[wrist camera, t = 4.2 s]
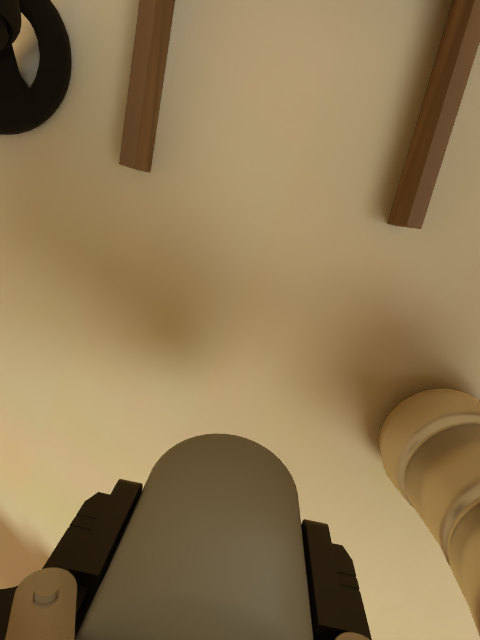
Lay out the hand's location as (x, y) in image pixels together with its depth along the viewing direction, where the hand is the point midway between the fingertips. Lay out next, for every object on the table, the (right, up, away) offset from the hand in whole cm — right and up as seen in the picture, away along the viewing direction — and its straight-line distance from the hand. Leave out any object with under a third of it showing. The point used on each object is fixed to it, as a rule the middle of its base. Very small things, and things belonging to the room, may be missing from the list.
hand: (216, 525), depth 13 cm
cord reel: (0, 0, +1) cm, 1 cm away
